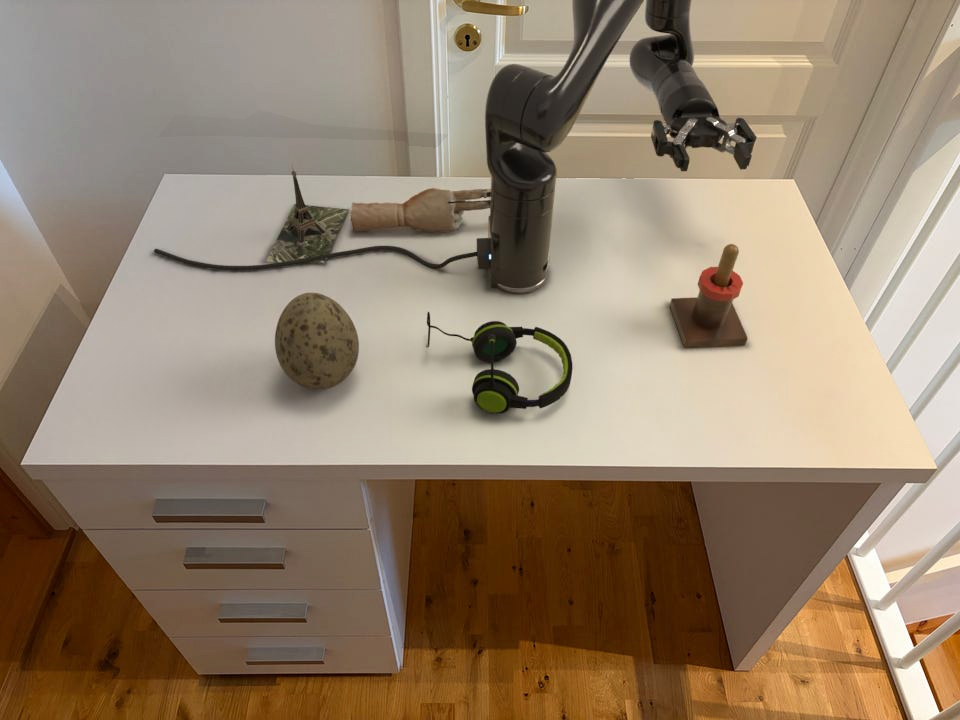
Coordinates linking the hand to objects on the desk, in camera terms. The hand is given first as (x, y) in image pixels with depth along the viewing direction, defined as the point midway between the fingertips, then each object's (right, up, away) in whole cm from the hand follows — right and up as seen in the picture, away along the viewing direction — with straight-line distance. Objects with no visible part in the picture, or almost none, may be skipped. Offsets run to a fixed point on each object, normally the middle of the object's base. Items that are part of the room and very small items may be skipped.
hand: (715, 165), depth 102 cm
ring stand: (+1, -22, +6) cm, 23 cm away
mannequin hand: (-42, -5, +22) cm, 48 cm away
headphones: (-31, -30, -1) cm, 43 cm away
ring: (+1, -17, 0) cm, 17 cm away
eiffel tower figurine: (-62, -7, +20) cm, 65 cm away
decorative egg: (-55, -30, -1) cm, 62 cm away
